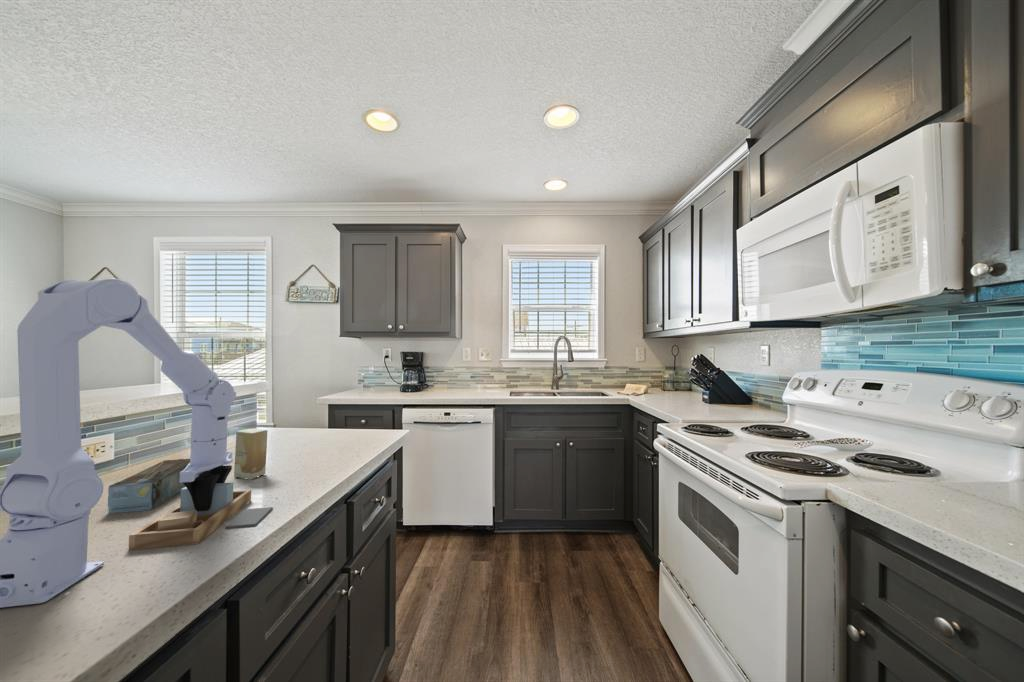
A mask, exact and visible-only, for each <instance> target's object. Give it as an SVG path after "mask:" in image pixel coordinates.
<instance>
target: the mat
mask: <svg viewBox="0 0 1024 682" xmlns="http://www.w3.org/2000/svg"><path fill="white" fill-rule="evenodd" d="M272 510H274V509H273V506H272V507H271V506H270V507H258V508H257V507H256V508H245V509H243V511H242V512H241V513H239V514H238V515H237V516H236V517H235V518H233V519H232V520H231V521H230V522H229V523H227V524H226V525H225V526H224V527H225V529H236V528H245V527H256V526H257V525H258V524H259V523H260V522H261V521H262V520H263V519H265V517H266V516H267V515H268V514H269V513H270V512H271V511H272Z"/></svg>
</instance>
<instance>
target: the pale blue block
mask: <svg viewBox="0 0 1024 682" xmlns="http://www.w3.org/2000/svg"><path fill="white" fill-rule="evenodd" d="M233 491H234V482H233V481H232V482H225V483H216V484H215V487H214V490H213V495H212V502H211V506H210V509H209V510H207V511H197V515H203V514H216V513H217V512H218V511H220V510H221V509H222V508H224V507H225V506H226V505H228V504H229V503H230V502H232V501H233ZM179 498H180V502H179V505H180V512H184V511H193V510H195V507H194V504H193V500H192V497H191V495H190V492H189V491H188V489H187V487H184V488H182V489H181V492H180V497H179Z"/></svg>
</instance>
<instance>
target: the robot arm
mask: <svg viewBox="0 0 1024 682" xmlns="http://www.w3.org/2000/svg"><path fill="white" fill-rule="evenodd" d="M101 327H107V328H108V327H109V328H112V329H116V330H117V329H118V330H122V331H124V332H126V334H128V335H129V336H131V337H132V338H133V339H134V340H135V341H137V342H138V343H139V344H140V345H142V346H143V347H144V348H145V349H147V351H149V352H150V353H151V354H152V355H153V356H155V357H156V358H157V359H158V360H160V361H161V365H160V370H161V371H160V372H161V373H163V375H165V376H166V377H167V378H168V379H169V380H170V381H171V382H172V383H173V384H175V386H177V388H179V390H181V392H182V393H183V394H182V395H183V400H184V403H185V404H186V405H188V406H190V407H191V429H190V457H189V459H190V463H189V464H188V465H187V467H186V468H185V469H184V470H183V471H181V472H180V483H183V484H184V485H185V486H186V487H187V489H188V491H189V492H190V495H191V497H192V500H193V504H194V507H195V510H197V511H207V510H209V509H210V506H211V502H212V495H213V490H214V487H215V484H216V483H226V481H227V478H228V477H229V474H230V473H231V471H232V468H233V466H232V465H230V464H232V463H234V460H233V459H234V458H233V452H232V451H227V449H228V448H227V445H228V444H227V443H228V423H229V422H228V420H229V419H228V418H229V417H228V416H229V414H230V413H231V406H232V404H233V403H234V402H235V399H236V396H237V392H235V389H234V387H233V385H232V384H231V383H230V382H229V381H227V380H225V379H220V378H219V376H218V373H217V372H216V371H213V370H212V369H211V368H210V367H209V366H208V365H207V364H206V363H205V362H204V361H203V360H202V359H203V356H202V354H200V353H195V352H194V351H192V350H184V349H182V348H181V347H180V346H179V345H178V344H177V342H176V341H175V340H174V339H173V337H172V336H171V335H170V334H169V333H168V332H167V331H166V329H165V328H164V326H163V325H161V323H160V322H159V321H158V319H156V317H155V315H153V314H152V313H151V311H150V310H149V303H148V300H147V299H146V298H145V297H143V295H141V294H139V292H138V291H137V290H136V288H135V287H134V286H133V285H132V284H131V283H129V282H127V281H125V280H122V279H118V278H104V279H93V280H62V281H58V282H56V283H54V284H51V285H49V286H47V287H45V288H42V289H41V290H38V292H37V301H36V302H35V303H34V304H33V306H32V307H31V308H30V309H29V311H28V312H27V314H25V316H24V317H23V319H22V320H21V321H20V322H19V324H18V326H17V331H16V332H17V335H16V336H17V352H18V353H17V358H18V361H17V362H18V364H17V365H18V389H19V390H18V391H19V395H18V396H19V418H20V419H19V421H20V422H19V423H20V448H21V449H20V456H18V457H17V458H16V459H15V460H14V461H13V462H12V463H10V464H9V465H8V466H7V467H6V476H5V477H6V478H5V481H4V483H3V484H2V486H1V488H0V511H2V512H3V513H5V514H6V515H9V518H8V519H9V521H8V522H9V523H8V529H7V531H6V533H5V534H4V535H3V536H2V537H1V538H0V609H1V608H10V607H17V606H19V607H20V606H27V605H36V604H37V605H38V604H42V603H45V602H48V601H49V600H51V599H52V598H54V597H56V596H57V595H59V594H60V593H62V592H63V591H65V590H66V589H68V588H70V587H71V586H73V585H75V584H76V583H77V582H79V581H81V580H82V579H83V578H85V577H86V576H88V575H90V574H91V573H93V572H95V571H96V570H98V569H99V568H100V567H102V566H104V564H105V561H104V560H102V561H101V560H100V561H92V562H90V561H89V562H88V546H89V545H88V542H89V541H88V539H89V519H90V518H89V517H90V515H91V510H92V509H93V508H94V507H96V505H97V504H98V502H99V501H100V499H101V497H102V495H103V493H104V483H103V481H102V479H101V478H100V476H99V475H98V474H97V473H96V472H97V471H96V469H95V461H94V459H93V458H92V457H91V456H90V455H89V454H88V452H86V450H85V449H84V448H83V447H82V428H81V427H82V426H81V425H82V424H81V392H80V391H81V390H80V357H79V356H80V355H79V342H80V341H81V340H82V339H83V338H85V337H87V336H88V335H90V334H91V333H93V332H95V331H96V330H97V329H99V328H101Z"/></svg>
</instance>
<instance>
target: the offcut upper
mask: <svg viewBox="0 0 1024 682" xmlns="http://www.w3.org/2000/svg"><path fill="white" fill-rule="evenodd" d="M196 521H197V510H193V511H184V512H175V513H168V514H167V515H165V516H164V517H163V518H162V519H160V520H159V521H158V531H164V530H176V529H188V528H190V527H191V526H192V525H193V524H194V523H195V522H196Z"/></svg>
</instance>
